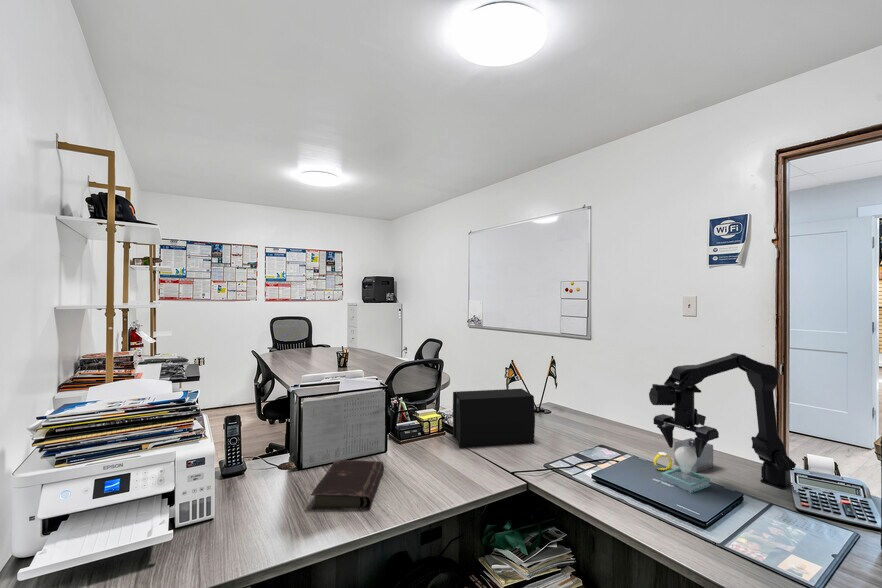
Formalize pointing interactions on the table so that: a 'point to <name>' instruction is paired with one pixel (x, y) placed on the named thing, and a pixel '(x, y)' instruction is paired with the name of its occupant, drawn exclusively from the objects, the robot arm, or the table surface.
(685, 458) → the lightbulb
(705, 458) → the unit
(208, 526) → the table surface
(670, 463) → the watch
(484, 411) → the uninterruptible power supply
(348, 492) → the diary
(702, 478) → the tray
